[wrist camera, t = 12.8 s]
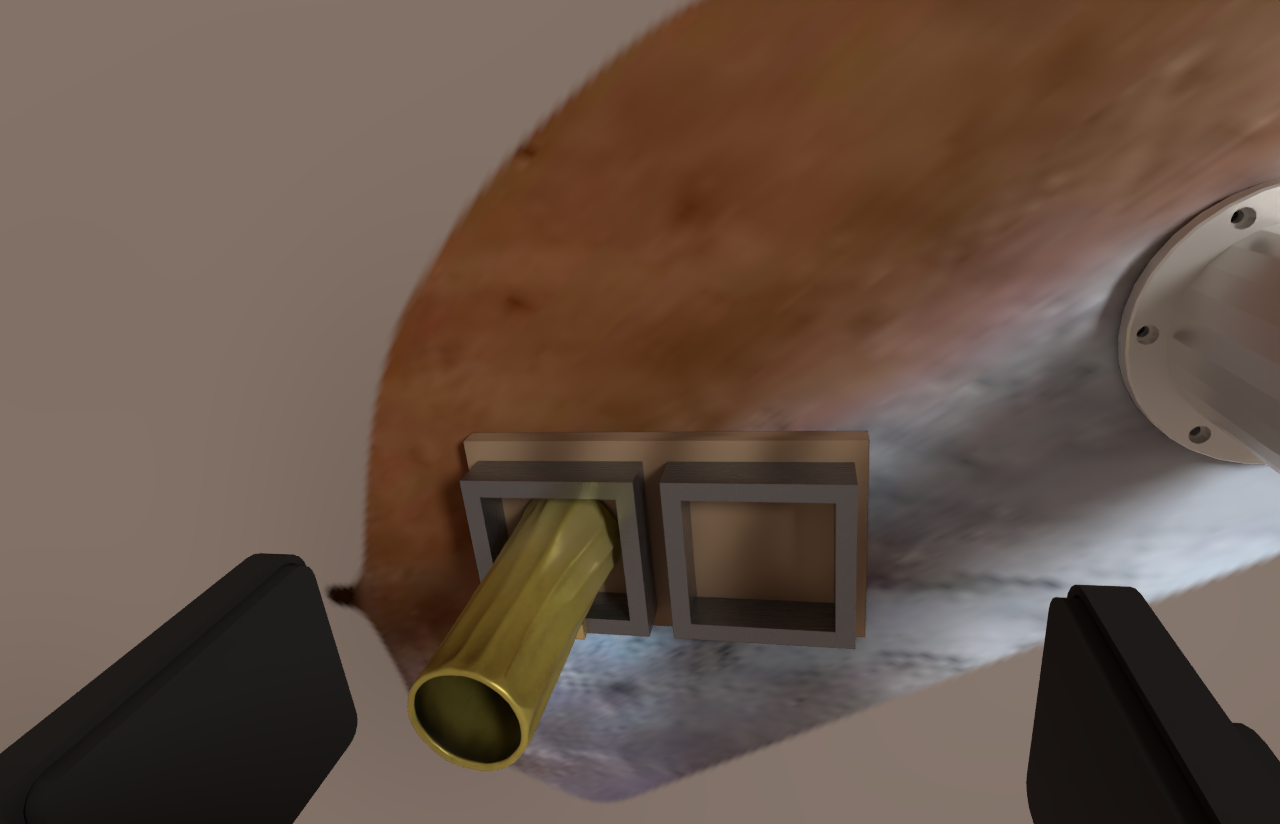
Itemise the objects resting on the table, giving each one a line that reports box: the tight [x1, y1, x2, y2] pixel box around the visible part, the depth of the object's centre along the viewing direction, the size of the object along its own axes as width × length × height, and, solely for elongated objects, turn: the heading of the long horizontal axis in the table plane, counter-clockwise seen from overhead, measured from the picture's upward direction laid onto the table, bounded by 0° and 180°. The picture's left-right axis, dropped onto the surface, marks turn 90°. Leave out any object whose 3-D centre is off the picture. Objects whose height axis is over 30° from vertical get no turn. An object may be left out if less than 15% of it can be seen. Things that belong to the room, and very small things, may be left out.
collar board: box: [463, 431, 870, 637], centre depth 41 cm, size 22×12×1 cm, turn 95°
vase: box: [408, 498, 622, 771], centre depth 35 cm, size 6×6×14 cm
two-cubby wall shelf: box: [460, 461, 858, 649], centre depth 39 cm, size 21×10×3 cm, turn 95°
